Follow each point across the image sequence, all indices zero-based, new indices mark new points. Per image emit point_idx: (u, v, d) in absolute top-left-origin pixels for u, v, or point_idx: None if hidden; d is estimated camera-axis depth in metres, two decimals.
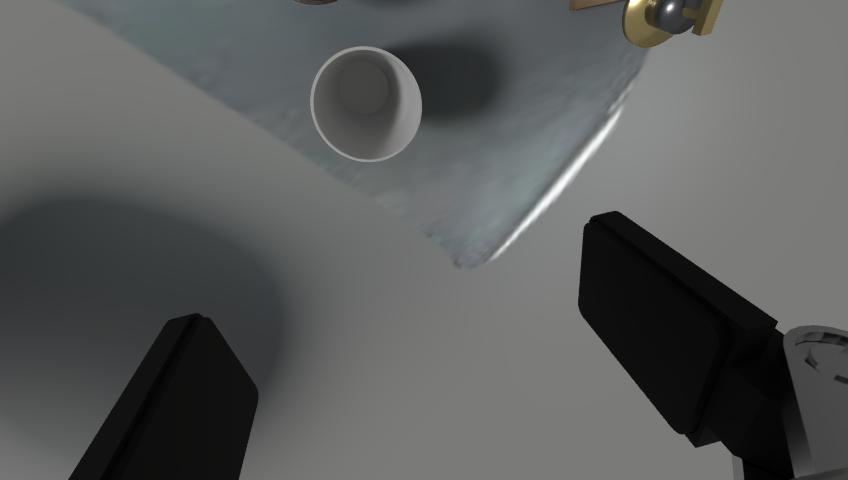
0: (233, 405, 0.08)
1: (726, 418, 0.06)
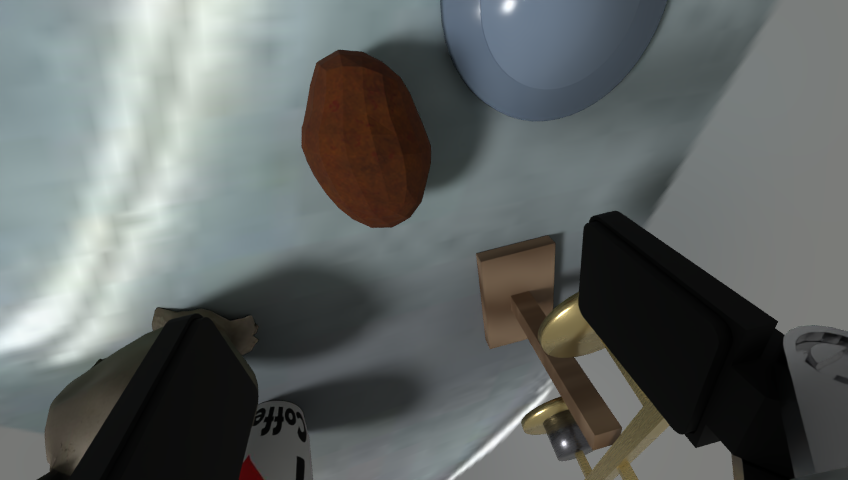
0: (233, 405, 0.08)
1: (726, 418, 0.06)
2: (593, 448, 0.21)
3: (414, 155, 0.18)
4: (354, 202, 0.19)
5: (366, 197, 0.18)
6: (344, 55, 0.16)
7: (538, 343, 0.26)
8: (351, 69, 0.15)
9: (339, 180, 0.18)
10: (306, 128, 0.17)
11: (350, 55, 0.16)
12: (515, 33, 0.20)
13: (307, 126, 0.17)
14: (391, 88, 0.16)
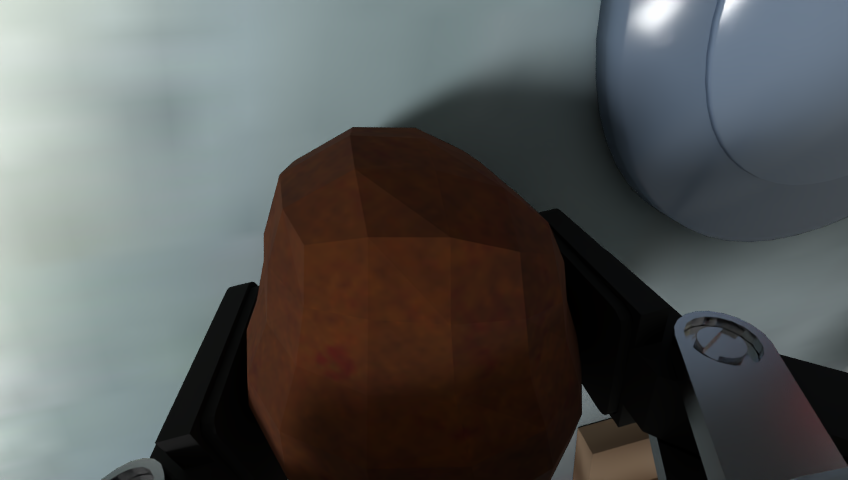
0: None
1: (635, 397, 0.06)
2: None
3: (571, 434, 0.06)
4: None
5: None
6: (373, 174, 0.04)
7: None
8: (404, 247, 0.04)
9: None
10: (250, 367, 0.06)
11: (395, 171, 0.04)
12: (782, 68, 0.08)
13: (252, 365, 0.06)
14: (542, 289, 0.04)
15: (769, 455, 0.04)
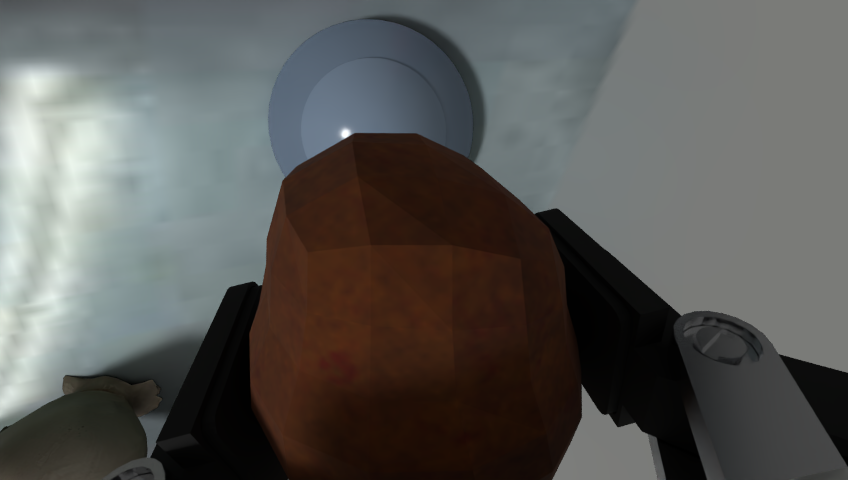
0: None
1: (634, 397, 0.06)
2: None
3: (571, 437, 0.06)
4: None
5: None
6: (376, 182, 0.04)
7: None
8: (406, 256, 0.04)
9: None
10: (253, 371, 0.06)
11: (397, 179, 0.04)
12: None
13: (255, 369, 0.06)
14: (543, 295, 0.04)
15: (767, 455, 0.04)
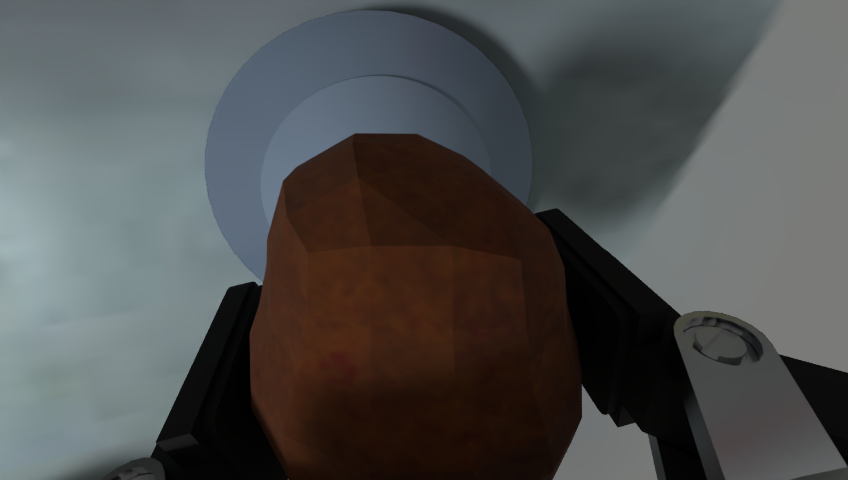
0: None
1: (634, 397, 0.06)
2: None
3: (571, 438, 0.06)
4: None
5: None
6: (376, 183, 0.04)
7: None
8: (406, 257, 0.04)
9: None
10: (253, 372, 0.06)
11: (397, 179, 0.04)
12: None
13: (255, 369, 0.06)
14: (543, 295, 0.04)
15: (767, 454, 0.04)
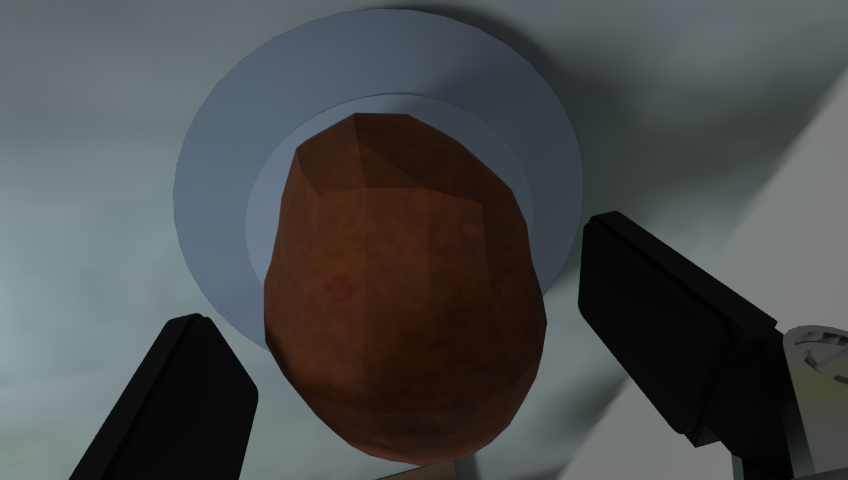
0: (233, 405, 0.08)
1: (725, 418, 0.06)
2: None
3: (531, 367, 0.07)
4: (381, 454, 0.08)
5: (410, 458, 0.08)
6: (371, 144, 0.06)
7: None
8: (393, 196, 0.05)
9: (348, 431, 0.07)
10: (269, 306, 0.07)
11: (388, 143, 0.06)
12: None
13: (271, 304, 0.07)
14: (501, 236, 0.06)
15: None
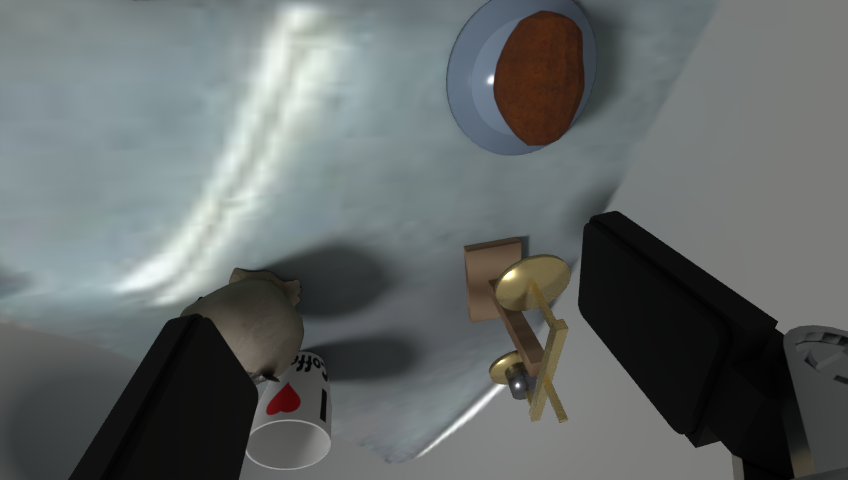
0: (233, 405, 0.08)
1: (726, 418, 0.06)
2: (530, 375, 0.31)
3: (582, 86, 0.26)
4: (533, 117, 0.27)
5: (545, 113, 0.26)
6: (551, 12, 0.24)
7: (503, 311, 0.36)
8: (560, 19, 0.24)
9: (530, 98, 0.26)
10: (512, 61, 0.26)
11: (554, 12, 0.24)
12: (493, 100, 0.31)
13: (513, 60, 0.26)
14: (579, 35, 0.24)
15: None
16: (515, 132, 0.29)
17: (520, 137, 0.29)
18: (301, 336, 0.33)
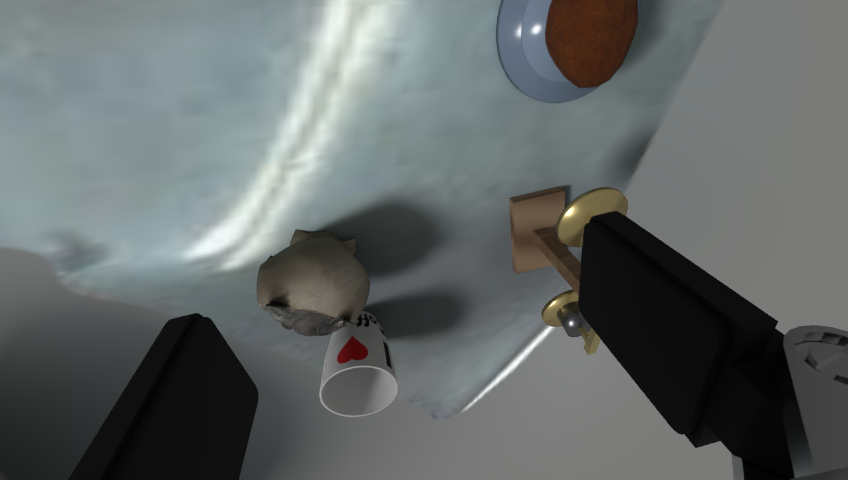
0: (233, 405, 0.08)
1: (726, 418, 0.06)
2: None
3: (636, 22, 0.27)
4: (590, 56, 0.28)
5: (601, 51, 0.27)
6: None
7: (553, 255, 0.38)
8: None
9: (588, 37, 0.27)
10: (569, 2, 0.27)
11: None
12: (541, 47, 0.32)
13: (570, 0, 0.27)
14: None
15: None
16: (568, 75, 0.30)
17: (573, 79, 0.30)
18: (369, 286, 0.35)
